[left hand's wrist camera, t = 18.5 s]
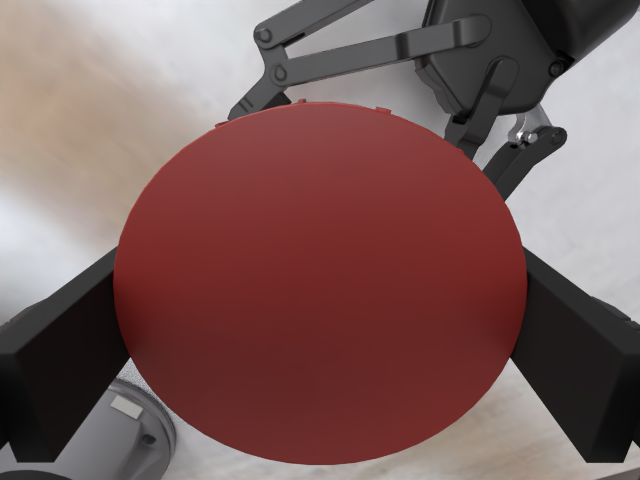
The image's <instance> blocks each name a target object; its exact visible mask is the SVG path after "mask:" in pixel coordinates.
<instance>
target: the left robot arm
mask: <svg viewBox="0 0 640 480" xmlns="http://www.w3.org/2000/svg"><path fill="white" fill-rule="evenodd" d="M522 247H523V246H522ZM117 249H118V246H117V247H115V248H114V249H113V250H111V251H110V252H109V253H107V254H106V255H105V256H103V257H102V258H101V259H99V260H98V261H97V262H95V263H94V264H93V265H91V266H90V267H89V268H87V269H86V270H84V271H83V272H82V273H80V274H79V275H78V276H76V277H75V278H74V279H72V280H71V281H70V282H68V283H67V284H66V285H64V286H63V287H62V288H60V289H59V290H58V291H56V292H55V293H54V294H52V295H51V296H50V297H48V298H47V299H45V300H42V301H40V302H38V303H36V304H34V305H32V306H30V307H27V308H26V309H24V310H23V311H22V312H20V313H19V314H17V315H16V316H15V317H13V318H12V319H11V320H10V322H6V323H5V324H4V325H2V326H1V327H0V480H160V479H161V478H162V476H163V475H164V473H165V471H166V470H167V467H168V465H169V463H170V460H171V458H172V455H173V453H174V449H175V432H174V428H173V425H172V423H171V421H170V419H169V417H168V415H167V414H166V412H165V411H164V410H163V409H162V407H161V406H160V405H159V404H158V403H157V402H156V401H155V400H154V399H152V398H151V397H150V396H149V395H147V394H146V393H145V392H143V391H141V390H140V389H138V388H136V387H134V386H132V385H130V384H128V383H126V382H123V381H121V380H118V379H115V378H116V376H117V375H118V373H119V372H120V371H121V369H122V368H123V367H124V365H125V364H126V362H127V361H128V360H129V358H130V355H129V353H128V351H127V348H126V345H125V343H124V340H123V338H122V335H121V332H120V327H119V323H118V319H117V315H116V310H115V304H114V293H113V278H114V263H115V258H116V253H117ZM523 251H524V255H525V259H526V271H527V283H528V285H527V299H526V308H525V312H524V316H523V321H522V325H521V330H520V333H519V336H518V339H517V342H516V344H515V347H514V350H513V352H512V354H511V356H510V358H511V359H512V361H513V362H514V363H515V365H516V366H517V368H518V369H519V370H520V372H521V373H522V375H523V376H524V377H525V379H526V380H527V381H528V383H529V384H530V386H531V387H532V388H533V390H534V391H535V392H536V394H537V395H538V397H539V398H540V399H541V401H542V402H543V404H544V405H545V406H546V408H547V409H548V410H549V412H550V413H551V415H552V416H553V417H554V419H555V420H556V421H557V423H558V424H559V426H560V427H561V428H562V430H563V431H564V432H565V434H566V435H567V437H568V438H569V439H570V441H571V442H572V444H573V445H574V446H575V448H576V449H577V450H578V452H579V453H580V455H581V456H582V457H583V459H584V460H585V461H586V463H623V462H624V460H625V457H626V455H627V453H628V450H629V448H630V445H631V443H632V440H633V441H634V442H635V443H636V444H637V446H638V447H639V448H640V325H639V324H638V323H636V322H635V321H631V318H629V317H628V316H627V315H625V314H624V313H622V312H621V311H620V310H618V309H617V308H616V307H614V306H612V305H610V304H608V303H605V302H603V301H601V300H599V299H597V298H595V297H591V296H589V295H588V294H587V293H585V292H584V291H583V290H581V289H580V288H579V287H577V286H576V285H575V284H573V283H572V282H571V281H569V280H568V279H567V278H565V277H564V276H562V275H561V274H560V273H558V272H557V271H556V270H554V269H553V268H552V267H550V266H549V265H548V264H546V263H545V262H544V261H542V260H541V259H540V258H538V257H537V256H536V255H534V254H533V253H532V252H530V251H529V250H528V249H526V248H525V247H523ZM637 480H640V474H639V476H638V478H637Z"/></svg>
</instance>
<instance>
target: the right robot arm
mask: <svg viewBox="0 0 640 480" xmlns="http://www.w3.org/2000/svg"><path fill="white" fill-rule="evenodd" d="M372 1H374V0H301V1H299V2H298V3H296V4H294V5H292V6H290V7H289V8H287V9H285V10H283V11H281V12H280V13H278V14H276V15H274V16H272V17H270V18H269V19H267V20H265V21H263V22H261V23H260V24H258V25H257V26H256V28H255V30H254V35H253V37H254V41H255V43H256V44H257V46H258V48H259V51H260V53H261V55H262V58H263V60H264V64H265V71H264V74H263V76H262V78H261V79H260V80H259V81H258V82H257V83H256V84H255V85H254V86H253V87H252V88H251V89H250V90H249V91H248V92H247V93H246V94H245V95H244V97H243V98H242V99H241V100H240V101H239V102H238V103H237V104H236V105H235V106H234V107H233V108H232V109H231V111H230V113H229V116H228V118H227V119H228V120H233V119H237V118H239V117H243V116H246V115H249V114H253V113H256V112H260V111H263V110H266V109H270V108H274V107H277V106H282V105H289V104H291V103H292V102H291V101H290V99H289V98H288V97H287V96H286V95H285V94H284V93H283V92H284V91H285V90H286V89H287V88H288V87H291V86H295V85H300V84H304V83H309V82H313V81H318V80H322V79H327V78H331V77H336V76H340V75H345V74H349V73H354V72H358V71H363V70H367V69H372V68H376V67H381V66H385V65H390V64H396V63H400V62H405V61H409V60H414V59H415V66H416V70H415V72H416V73H417V75H418V76H419V77H420V79H421V80H422V81H423V82H424V83H425V84H427V85H428V86H429V87H431V88H432V89H433V90H434V93H435V96H436V98H437V101H438V103H439V105H440V106H441V107H442V109H443V110H444V111H445V113H450V114H451V117H450V119H449V122H448V124H447V126H446V129H445V138H444V140H446V141H447V142H449V143H450V144H452V145H454V146H455V147H456V148H458V149H461V150H462V151H463V152H464V153H463V154H464V155H465V156H466V157H468V158H469V159H470V160H471V161H472V160H473V158H474V155H475V153H476V151H477V149H478V148H479V146H481V145H482V144H483V143H484V142H485V140H486V138H487V136H488V134H489V132H490V130H491V128H492V126H493V123H494V121H495V119H496V117H497V116H502V115H511V114H516V115H517V121H516V124H515V126H514V127H513V128H512V129H511V130H510V131H509V133H508V140H509V141H508V142H507V143H505V144H504V145H503V146H502V147H501V148H500V149H499V150H498V151H497V152H496V154H495V155H494V156H493V157H492V159H491V160H490V161H489V163H488V164H487V165H486V166H485V168H484V169H483V170H482V172H483V173H484V174H485V176H486V177H487V178H488V179H489V180H490V181H491V183H492V184H493V185H494V186H495V188H496V189H497V191H498V192H499V194H500V196H501V197H502V199H503V200H504V202H505V201H506V199H507V198H508V197H509V196H510V194H511V193H512V192H513V191H514V190H515V188H516V187H517V186H518V185H519V183H520V182H521V181H522V180H523V178H524V177H525V176H526V175H527V174H528V172H529V171H530V170H531V169H532V167H533V166H534V165H536V164H537V163H539V162H540V161H541V160H543V159H544V158H546V157H547V156H549V155H550V154H552V153H553V152H555V151H556V150H557V149H559V148H560V147H562V146H563V145H564V144H565V142H566V140H567V132H566V131H565V130H564V129H563V128H561V127H554V126H552V124H551V123H550V121H549V119H548V117H547V115H546V113H545V112H544V110H543V108H542V106H541V104H540V102H541V100H542V99H543V97H544V95H545V93H546V91H547V89H548V88H549V86H550V85H551V84H552V83H553V82H554V81H555V80H556V79H557V78H558V77H559V76H561V75H562V74H563V73H565V72H566V71H568V70H569V69H570V68H572V67H573V66H574V65H575V64H577V63H578V62H579V61H580V60H582V59H583V58H584V57H585V56H586V55H588V54H589V53H590V52H591V51H593V50H594V49H595V48H596V47H598V46H599V45H600V44H601V43H602V42H604V41H605V40H606V39H607V38H609V37H610V36H611V35H612V34H614V33H615V32H616V31H617V30H619V29H620V28H621V27H622V26H623V25H625V24H626V23H627V22H628V21H629V20H630V19H631V18H632V17H633V16H634V14H635V13H636V12H637V11H640V0H429V2H428V6H427V9H426V13H425V17H424V20H423V24H422V28H419V29H415V30H410V31H406V32H403V33H400V34H397V35H393V36H389V37H385V38H380V39H376V40H371V41H367V42H363V43H358V44H354V45H349V46H345V47H341V48H336V49H332V50H327V51H323V52H319V53H314V54H310V55H306V56H301V57H297V58H292V59H288V56H287V54H286V51H285V48H286V47H288V46H290V45H292V44H293V43H295V42H297V41H299V40H301V39H303V38H305V37H307V36H308V35H310V34H312V33H314V32H316V31H318V30H320V29H321V28H323V27H325V26H327V25H329V24H331V23H333V22H334V21H336V20H338V19H340V18H342V17H344V16H346V15H348V14H349V13H351V12H353V11H355V10H357V9H359V8H361V7H362V6H364V5H366V4H368V3H370V2H372Z"/></svg>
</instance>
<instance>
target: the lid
mask: <svg viewBox="0 0 640 480" xmlns="http://www.w3.org/2000/svg"><path fill="white" fill-rule="evenodd" d="M298 102H299V103H296V104H289V105H282V106H277V107H274V108H270V109H266V110H263V111H260V112H256V113H253V114H249V115H246V116H243V117H239V118H237V119H233V120H229V121H225V122H222V123H218V124H216V125H215V127H216V128H215V129H213V130H211V131H209V132H207V133H206V134H204V135H203V136H201V137H200V138H198V139H196V140H195V141H193V142H192V143H190V144H189V145H187V146H186V147H184V148H183V149H182V150H181V151H180V152H178V153H177V154H176V155H175V156H174V157H173V158H172V159H171V160H169V161H168V162H167V163H166V164H165V165H164V166H163V167H162V168H161V169H160V170H159V171H158V173H157V174H156V175H155V176H154V177H153V179H152V180H151V181H150V182H149V183H148V185H147V186H146V187H145V188H144V190H143V191H142V193H141V195H140V196H139V198H138V200H137V201H136V203H135V205H134V206H133V208H132V210H131V211H130V213H129V216H128V218H127V221H126V223H125V226H124V228H123V231H122V233H121V236H120V240H119V244H118V249H117V253H116V258H115V263H114V278H113V293H114V304H115V310H116V315H117V319H118V323H119V327H120V332H121V335H122V338H123V340H124V343H125V345H126V348H127V351H128V353H129V355H130V357H131V359H132V360H133V362H134V364H135V366H136V368H137V369H138V371H139V373H140V374H141V376H142V377H143V378H144V380H145V381H146V382H147V384H148V385H149V387H150V388H151V389H152V391H153V392H154V393H155V394H156V395H157V396H158V397H159V398H160V399H161V400H162V401H163V402H164V403H165V404H166V405H167V407H168V408H170V409H171V410H172V411H173V412H174V413H176V414H177V415H178V416H179V417H180V418H182V419H183V420H184V421H185V422H186V423H188V424H189V425H191V426H193V427H194V428H196V429H197V430H199V431H200V432H202V433H203V434H205V435H207V436H208V437H210V438H212V439H214V440H216V441H218V442H220V443H222V444H224V445H226V446H229V447H231V448H234V449H236V450H239V451H241V452H244V453H247V454H251V455H254V456H258V457H261V458H265V459H269V460H274V461H280V462H285V463H293V464H304V465H337V464H347V463H356V462H361V461H366V460H371V459H376V458H380V457H383V456H387V455H390V454H393V453H397V452H399V451H402V450H404V449H407V448H409V447H412V446H414V445H417V444H419V443H421V442H423V441H424V440H426V439H428V438H430V437H432V436H434V435H436V434H438V433H439V432H441V431H442V430H444V429H445V428H447V427H448V426H450V425H451V424H452V423H454V422H455V421H457V420H458V419H459V418H460V417H461V416H463V415H464V414H465V413H466V412H467V411H469V410H470V409H471V408H472V407H473V406H474V405H475V404H476V403H477V402H478V401H479V400H480V399H481V398H482V397H483V395H484V394H485V393H486V392H487V391H488V390H489V389H490V387H491V386H492V385H493V383H494V382H495V381H496V379H497V378H498V376H499V375H500V374H501V372H502V371H503V369H504V367H505V365H506V363H507V361H508V359H509V358H510V356H511V354H512V352H513V350H514V347H515V344H516V342H517V339H518V336H519V333H520V330H521V325H522V321H523V316H524V312H525V308H526V299H527V285H528V283H527V271H526V259H525V255H524V251H523V247H522V242H521V238H520V234H519V232H518V229H517V227H516V225H515V222H514V220H513V217H512V215H511V213H510V210H509V209H508V207H507V205H506V204H505V202H504V200H503V199H502V197H501V196H500V194H499V192H498V191H497V189H496V188H495V186H494V185H493V184H492V183H491V181H490V180H489V179H488V178H487V177H486V176H485V174H484V173H483V172H482V171H481V170H480V169H479V167H478V166H477V165H476V164H475V163H473V162H472V161H471V160H470V159H469V158H468V157H466V156H465V155H464V154H463V153H464V152H463V151H462V150H461V149H458V148H456V147H455V146H454V145H452V144H450V143H449V142H447V141H446V140H444V139H442V138H441V137H439V136H438V135H436V134H434V133H433V132H431V131H430V130H428V129H426V128H424V127H421V126H419V125H417V124H415V123H412V122H410V121H408V120H405V119H403V118H401V117H399V116H395V115H391V114H390V113H391V110H389V109H385V108H380V107H376V110H374V109H370V108H366V107H362V106H359V105H352V104H344V103H337V102H306V99H301V100H298Z"/></svg>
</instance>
